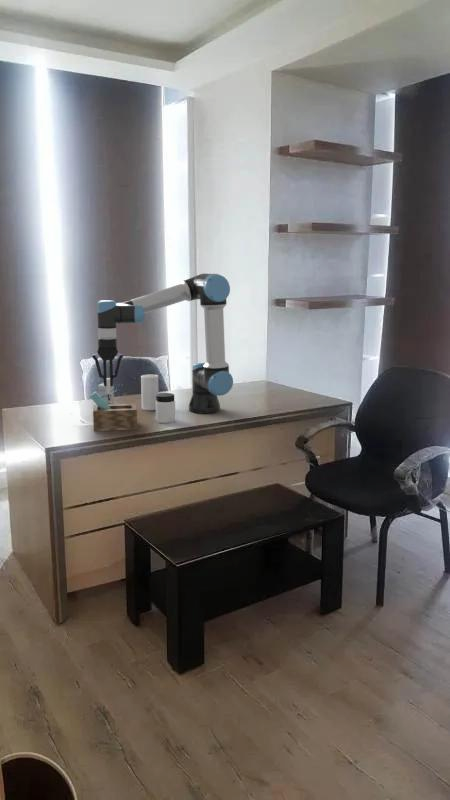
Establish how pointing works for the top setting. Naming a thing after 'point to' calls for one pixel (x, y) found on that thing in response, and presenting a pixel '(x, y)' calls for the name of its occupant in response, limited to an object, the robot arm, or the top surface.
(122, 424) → the socket
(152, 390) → the cup
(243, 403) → the top surface
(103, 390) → the ink box
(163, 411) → the jar
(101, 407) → the peg
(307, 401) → the top surface
